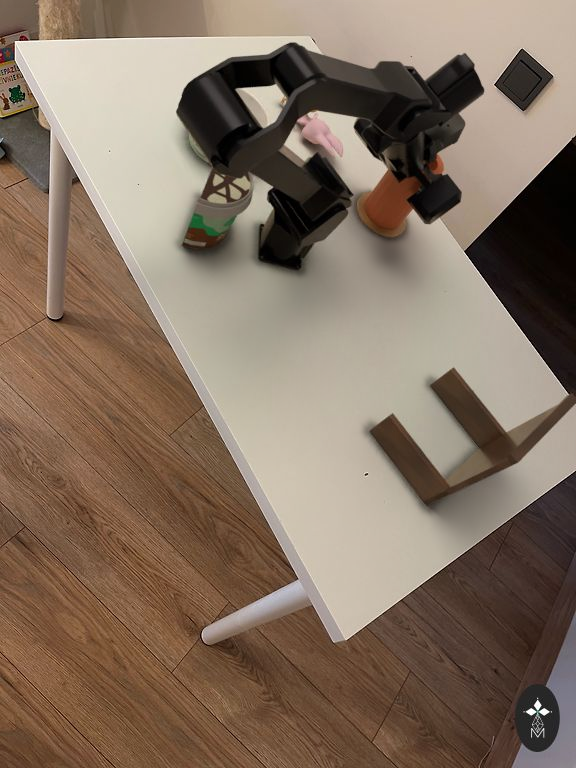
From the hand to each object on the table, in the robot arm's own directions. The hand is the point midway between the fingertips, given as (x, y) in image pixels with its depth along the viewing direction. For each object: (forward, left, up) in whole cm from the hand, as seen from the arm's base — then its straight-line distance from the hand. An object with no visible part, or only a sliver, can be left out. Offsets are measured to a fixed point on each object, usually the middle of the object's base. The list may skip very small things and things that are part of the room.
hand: (410, 182), depth 93 cm
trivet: (-1, -1, -7) cm, 7 cm away
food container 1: (-29, +3, -7) cm, 30 cm away
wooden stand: (+3, -40, -7) cm, 41 cm away
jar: (-1, -1, -7) cm, 7 cm away
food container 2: (-29, -14, -7) cm, 33 cm away
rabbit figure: (-14, +12, -7) cm, 20 cm away
